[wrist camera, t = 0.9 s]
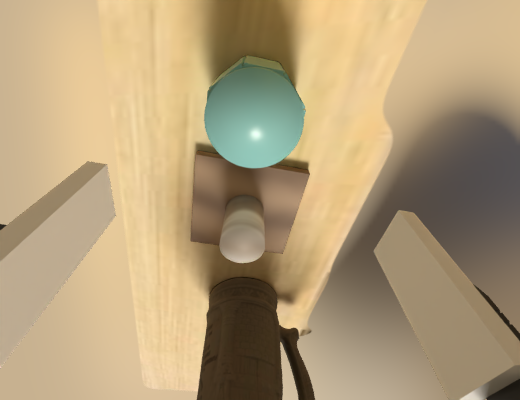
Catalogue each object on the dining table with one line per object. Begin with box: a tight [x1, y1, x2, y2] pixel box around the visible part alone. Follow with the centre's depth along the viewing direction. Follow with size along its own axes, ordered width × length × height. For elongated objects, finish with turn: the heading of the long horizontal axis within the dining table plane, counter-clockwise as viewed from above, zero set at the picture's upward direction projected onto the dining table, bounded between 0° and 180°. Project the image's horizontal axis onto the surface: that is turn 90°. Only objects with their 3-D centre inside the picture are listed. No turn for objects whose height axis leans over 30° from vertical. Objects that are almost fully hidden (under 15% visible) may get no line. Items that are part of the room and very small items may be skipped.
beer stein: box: [197, 278, 315, 400], centre depth 33 cm, size 15×11×20 cm
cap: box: [204, 55, 306, 168], centre depth 21 cm, size 7×7×7 cm
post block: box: [191, 151, 310, 263], centre depth 28 cm, size 12×12×7 cm
